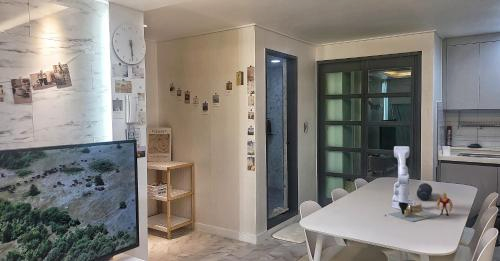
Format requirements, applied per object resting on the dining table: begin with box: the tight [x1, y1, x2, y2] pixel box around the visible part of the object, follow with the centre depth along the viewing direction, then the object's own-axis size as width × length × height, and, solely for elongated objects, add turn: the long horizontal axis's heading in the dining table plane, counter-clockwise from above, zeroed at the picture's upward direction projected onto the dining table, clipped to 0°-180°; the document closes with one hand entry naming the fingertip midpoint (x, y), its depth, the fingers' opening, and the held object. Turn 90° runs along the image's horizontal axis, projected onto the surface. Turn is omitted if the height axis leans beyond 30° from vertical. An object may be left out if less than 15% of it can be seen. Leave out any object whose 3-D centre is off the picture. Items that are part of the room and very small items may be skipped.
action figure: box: [436, 192, 453, 217], centre depth 235 cm, size 9×4×15 cm, turn 53°
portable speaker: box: [416, 182, 433, 201], centre depth 280 cm, size 25×10×10 cm, turn 150°
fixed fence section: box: [412, 203, 422, 212], centre depth 244 cm, size 1×9×4 cm, turn 115°
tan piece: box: [405, 206, 411, 217], centre depth 235 cm, size 13×1×4 cm, turn 145°
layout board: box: [388, 209, 442, 223], centre depth 236 cm, size 19×26×1 cm
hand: (403, 214), depth 234 cm, fingers closed
